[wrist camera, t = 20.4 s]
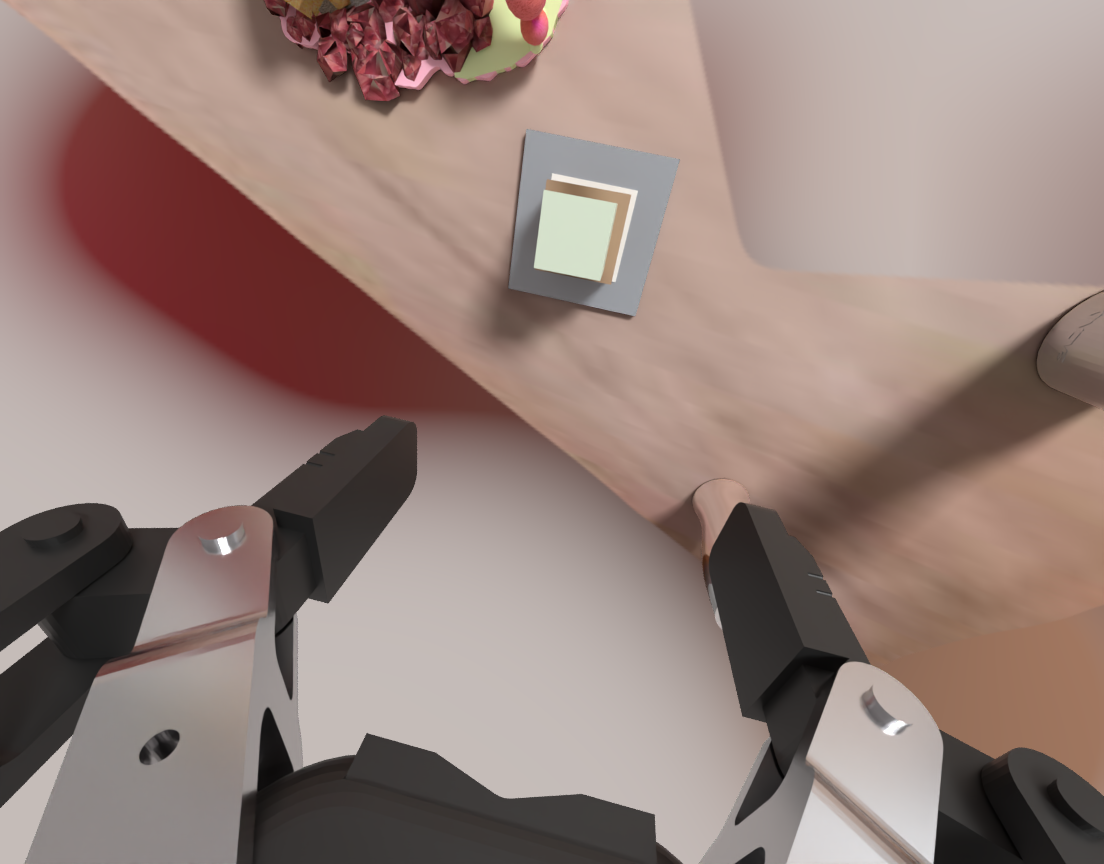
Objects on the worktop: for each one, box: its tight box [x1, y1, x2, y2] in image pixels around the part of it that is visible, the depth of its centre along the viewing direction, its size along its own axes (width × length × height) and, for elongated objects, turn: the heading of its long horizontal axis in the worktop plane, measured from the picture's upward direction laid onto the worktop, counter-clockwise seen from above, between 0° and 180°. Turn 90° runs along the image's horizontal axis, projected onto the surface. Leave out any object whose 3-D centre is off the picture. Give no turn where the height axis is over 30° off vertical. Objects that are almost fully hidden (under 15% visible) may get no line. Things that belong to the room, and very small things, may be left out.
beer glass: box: [692, 479, 750, 629], centre depth 39 cm, size 7×7×15 cm
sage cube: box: [534, 190, 618, 281], centre depth 27 cm, size 4×4×4 cm
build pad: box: [508, 129, 680, 316], centre depth 34 cm, size 12×12×1 cm
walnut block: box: [535, 179, 631, 285], centre depth 31 cm, size 6×6×5 cm
